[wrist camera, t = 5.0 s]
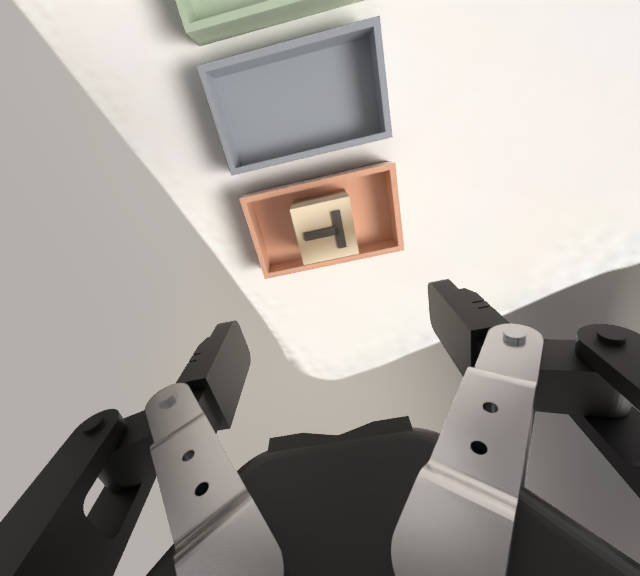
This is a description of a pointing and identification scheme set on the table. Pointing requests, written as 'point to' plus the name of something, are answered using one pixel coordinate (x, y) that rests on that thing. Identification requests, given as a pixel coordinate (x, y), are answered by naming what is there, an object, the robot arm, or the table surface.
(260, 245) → the terracotta tray
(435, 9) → the table surface
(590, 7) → the table surface
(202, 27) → the sage tray
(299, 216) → the letter cube
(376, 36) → the slate tray
